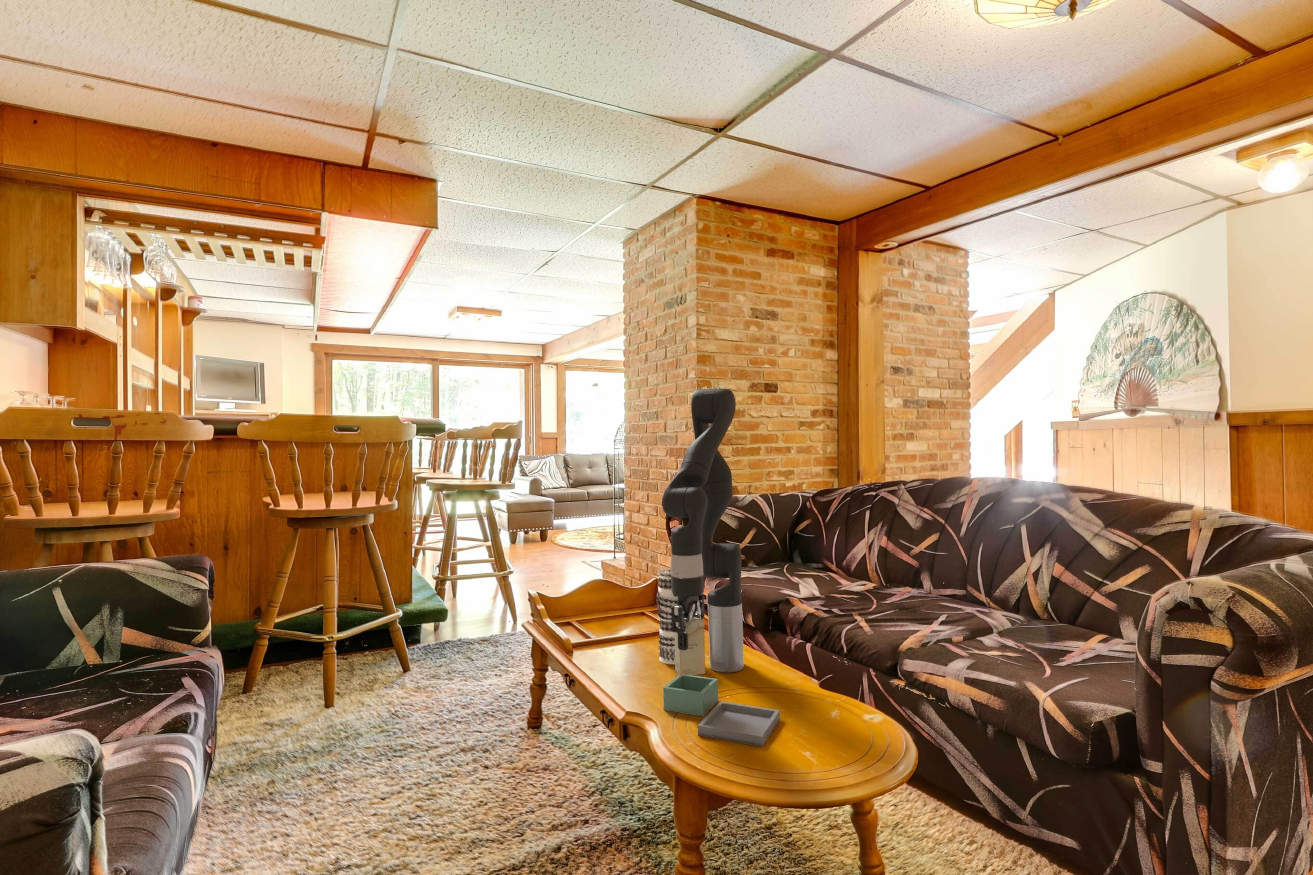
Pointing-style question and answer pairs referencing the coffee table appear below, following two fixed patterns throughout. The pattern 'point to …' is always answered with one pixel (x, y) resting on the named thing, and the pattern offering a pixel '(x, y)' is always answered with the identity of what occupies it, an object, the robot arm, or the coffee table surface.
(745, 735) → the tray
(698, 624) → the skincare box
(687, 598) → the robot arm
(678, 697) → the teal square open box
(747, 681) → the coffee table surface
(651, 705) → the coffee table surface
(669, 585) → the decorative candle
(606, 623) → the coffee table surface
